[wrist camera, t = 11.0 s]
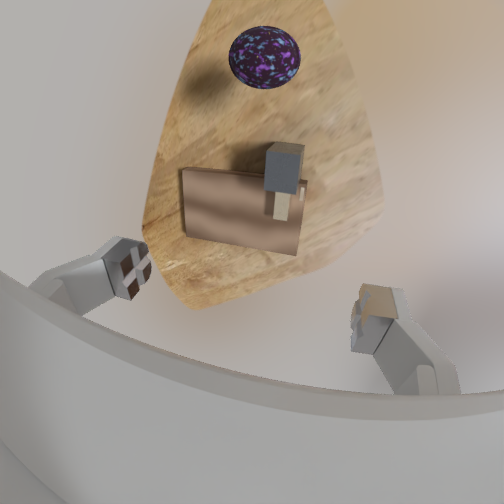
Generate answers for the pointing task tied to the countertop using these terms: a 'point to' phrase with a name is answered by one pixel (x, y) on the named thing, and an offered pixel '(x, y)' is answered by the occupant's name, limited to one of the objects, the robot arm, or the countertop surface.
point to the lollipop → (264, 57)
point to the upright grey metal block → (283, 175)
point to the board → (239, 210)
